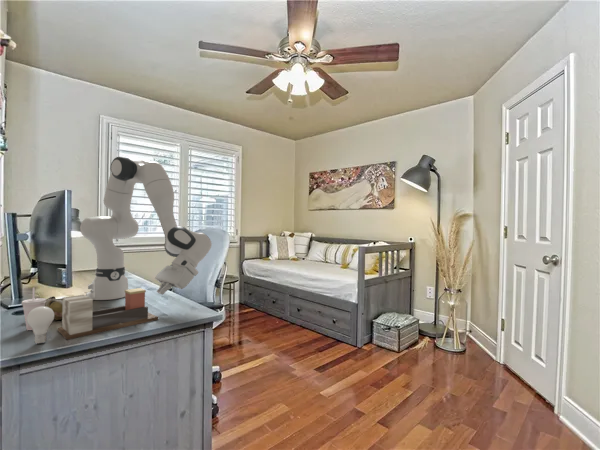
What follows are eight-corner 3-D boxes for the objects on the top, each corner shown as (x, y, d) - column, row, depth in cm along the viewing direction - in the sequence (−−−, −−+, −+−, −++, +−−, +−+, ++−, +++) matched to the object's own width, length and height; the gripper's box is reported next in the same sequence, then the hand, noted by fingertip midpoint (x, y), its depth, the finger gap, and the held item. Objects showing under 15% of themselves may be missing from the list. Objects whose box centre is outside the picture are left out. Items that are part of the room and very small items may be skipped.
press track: (57, 330, 104) (58, 297, 104) (144, 313, 125) (145, 285, 125) (66, 339, 96) (67, 304, 96) (158, 319, 117) (158, 290, 117)
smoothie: (17, 333, 101) (18, 289, 101) (25, 327, 107) (26, 286, 107) (42, 330, 104) (42, 288, 104) (48, 324, 110) (49, 285, 110)
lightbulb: (38, 348, 89) (38, 310, 89) (20, 346, 91) (20, 308, 90) (59, 340, 95) (59, 304, 95) (42, 338, 97) (42, 303, 97)
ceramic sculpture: (42, 292, 121) (84, 294, 123) (40, 314, 121) (82, 315, 123) (21, 299, 111) (67, 300, 113) (20, 323, 111) (66, 324, 113)
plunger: (124, 316, 116) (124, 290, 116) (139, 313, 120) (139, 287, 120) (129, 319, 113) (130, 292, 113) (145, 316, 117) (145, 290, 117)
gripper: (166, 259, 136) (142, 285, 128) (190, 263, 122) (165, 292, 115) (176, 268, 139) (153, 294, 132) (200, 273, 125) (177, 302, 118)
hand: (159, 293), depth 123 cm, fingers closed
